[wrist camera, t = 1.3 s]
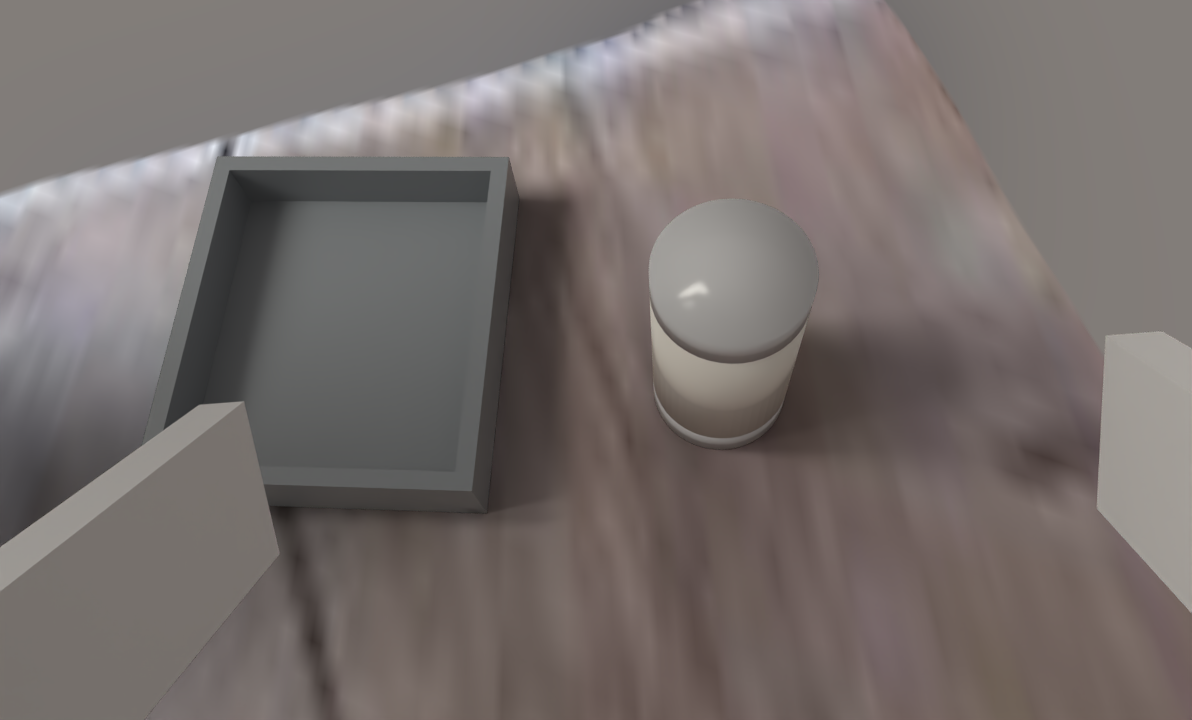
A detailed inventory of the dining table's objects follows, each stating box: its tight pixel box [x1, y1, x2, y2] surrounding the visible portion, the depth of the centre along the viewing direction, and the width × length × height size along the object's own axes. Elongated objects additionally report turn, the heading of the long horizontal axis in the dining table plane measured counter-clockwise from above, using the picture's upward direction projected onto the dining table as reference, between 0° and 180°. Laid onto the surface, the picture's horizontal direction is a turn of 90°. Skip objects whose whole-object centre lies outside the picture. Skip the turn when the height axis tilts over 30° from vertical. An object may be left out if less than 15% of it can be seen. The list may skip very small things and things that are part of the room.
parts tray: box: [141, 157, 519, 513], centre depth 44 cm, size 15×17×4 cm
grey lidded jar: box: [649, 199, 819, 450], centre depth 39 cm, size 6×6×11 cm
